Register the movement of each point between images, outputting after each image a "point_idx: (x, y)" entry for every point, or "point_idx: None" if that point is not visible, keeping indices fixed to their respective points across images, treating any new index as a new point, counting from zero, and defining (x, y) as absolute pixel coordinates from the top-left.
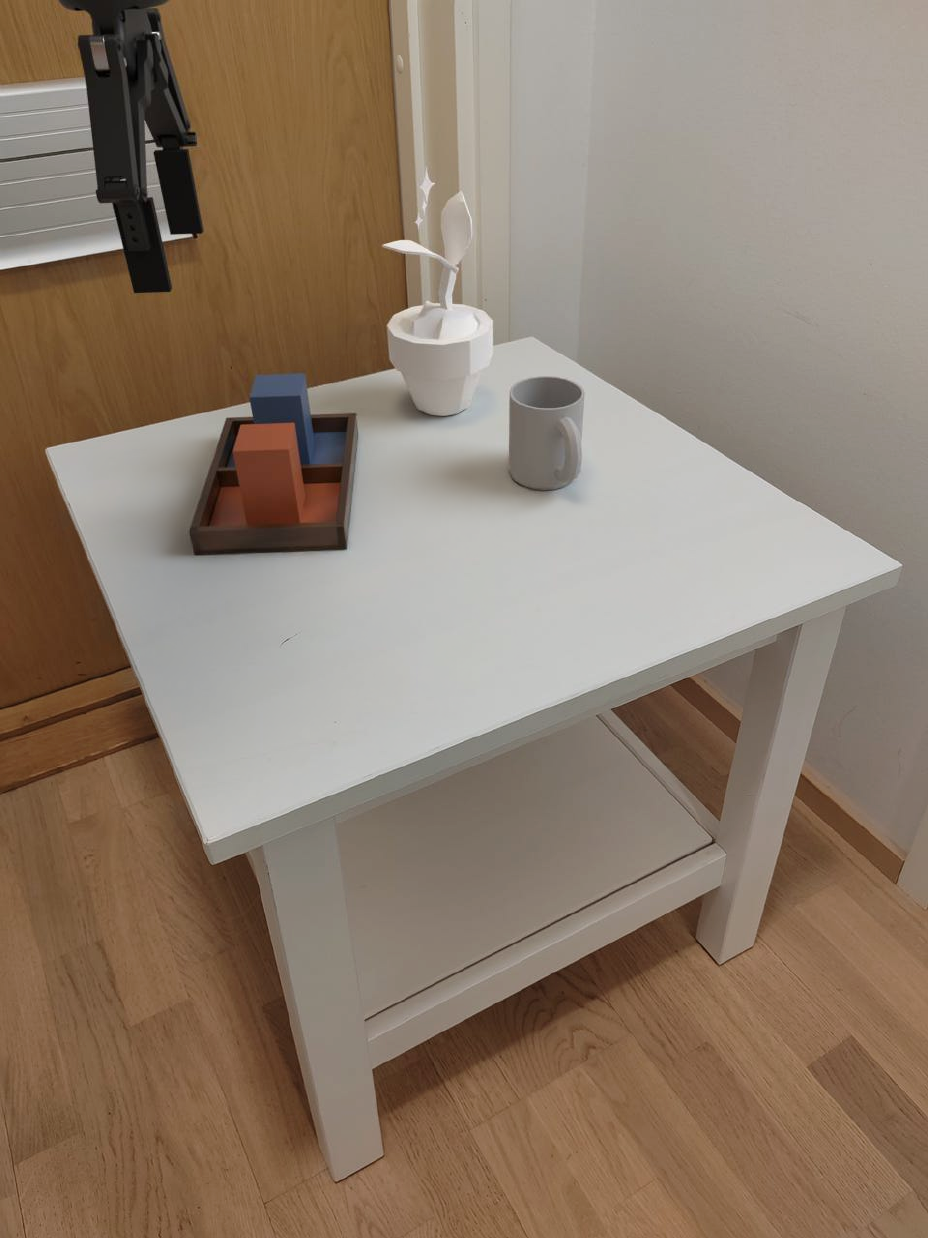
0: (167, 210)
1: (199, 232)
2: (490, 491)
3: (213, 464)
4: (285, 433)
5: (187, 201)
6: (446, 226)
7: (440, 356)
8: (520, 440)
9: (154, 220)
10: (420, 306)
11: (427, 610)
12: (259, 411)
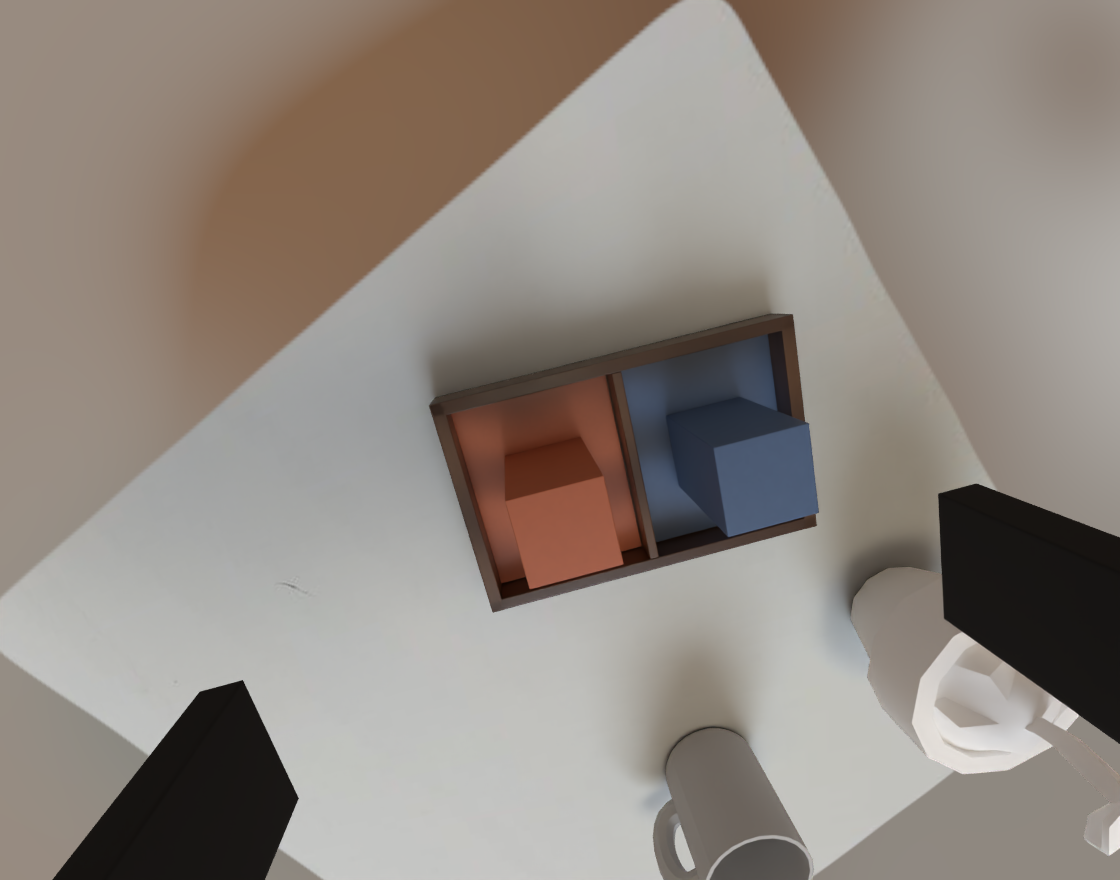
0: (1042, 549)
1: (945, 613)
2: (656, 715)
3: (630, 359)
4: (582, 564)
5: (1085, 680)
6: None
7: (896, 702)
8: (695, 804)
9: None
10: None
11: (393, 713)
12: (703, 453)
